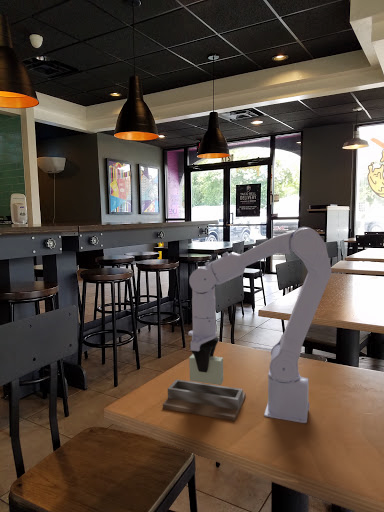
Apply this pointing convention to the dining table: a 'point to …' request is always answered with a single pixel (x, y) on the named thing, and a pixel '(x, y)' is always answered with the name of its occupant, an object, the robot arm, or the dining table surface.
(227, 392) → the grey metal tray
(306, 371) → the dining table surface
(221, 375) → the panel
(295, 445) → the dining table surface
